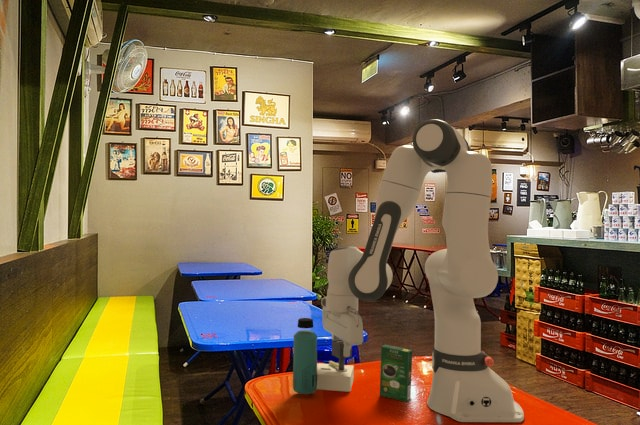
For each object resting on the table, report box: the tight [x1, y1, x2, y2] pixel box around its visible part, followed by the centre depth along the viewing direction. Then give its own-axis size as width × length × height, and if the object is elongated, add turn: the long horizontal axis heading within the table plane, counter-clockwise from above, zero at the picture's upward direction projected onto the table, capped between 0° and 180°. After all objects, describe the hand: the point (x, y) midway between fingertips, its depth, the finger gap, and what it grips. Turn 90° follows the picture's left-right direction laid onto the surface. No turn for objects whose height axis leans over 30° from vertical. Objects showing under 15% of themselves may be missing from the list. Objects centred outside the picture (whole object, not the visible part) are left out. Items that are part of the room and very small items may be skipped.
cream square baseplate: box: [316, 362, 355, 393], centre depth 134 cm, size 12×11×4 cm
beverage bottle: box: [292, 317, 318, 395], centre depth 124 cm, size 6×7×20 cm
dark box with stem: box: [328, 339, 353, 370], centre depth 135 cm, size 8×4×8 cm, turn 32°
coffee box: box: [379, 344, 413, 403], centre depth 124 cm, size 8×3×13 cm, turn 57°
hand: (341, 353), depth 133 cm, fingers open, 5 cm apart
